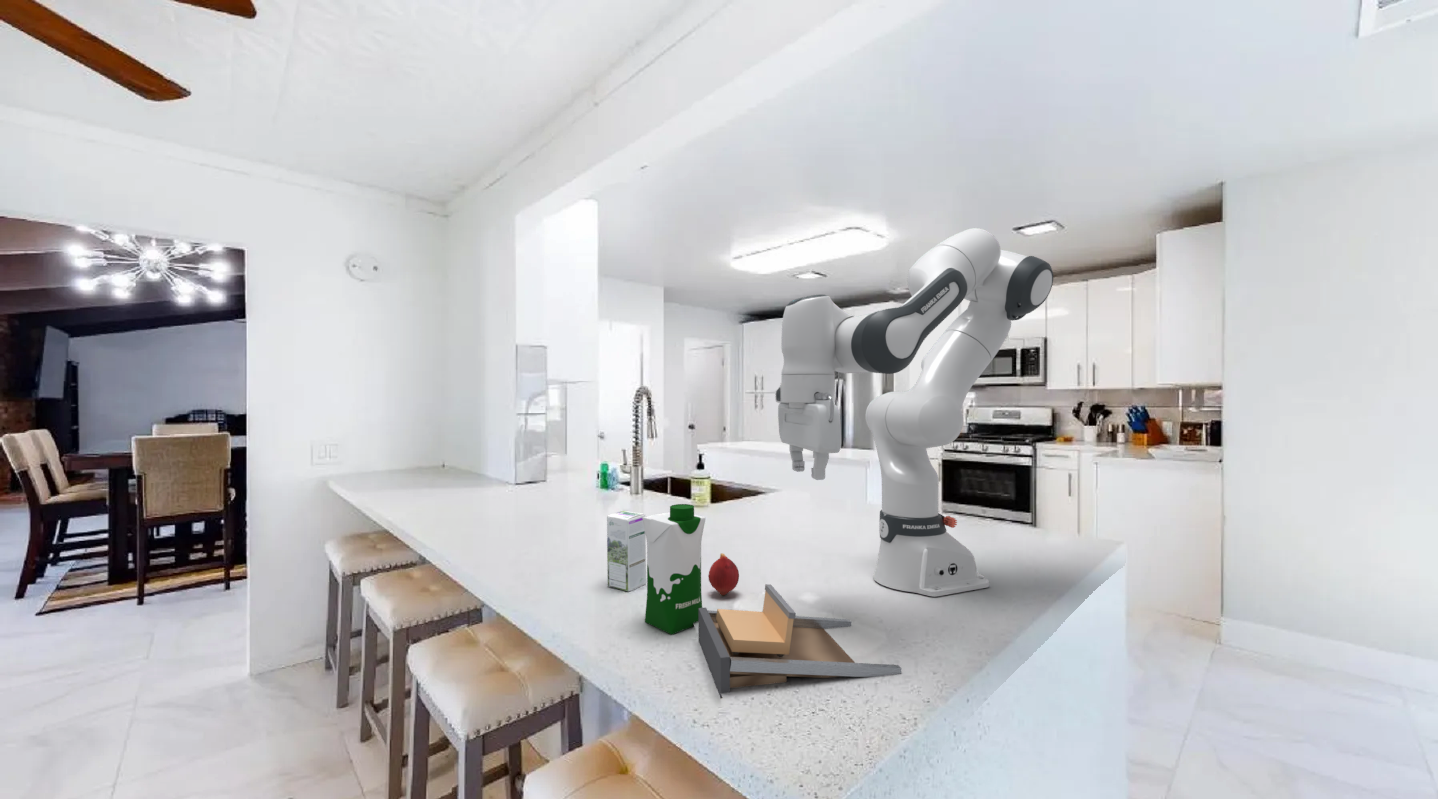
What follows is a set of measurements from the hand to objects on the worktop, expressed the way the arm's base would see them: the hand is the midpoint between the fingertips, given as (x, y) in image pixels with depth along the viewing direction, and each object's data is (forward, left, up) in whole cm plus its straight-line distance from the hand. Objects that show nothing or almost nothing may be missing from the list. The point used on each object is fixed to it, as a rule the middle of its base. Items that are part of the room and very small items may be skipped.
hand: (807, 475), depth 96 cm
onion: (+11, -16, -25) cm, 32 cm away
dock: (+6, +11, -25) cm, 28 cm away
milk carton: (+22, -5, -25) cm, 34 cm away
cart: (+13, +11, -22) cm, 28 cm away
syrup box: (+29, -25, -25) cm, 46 cm away
